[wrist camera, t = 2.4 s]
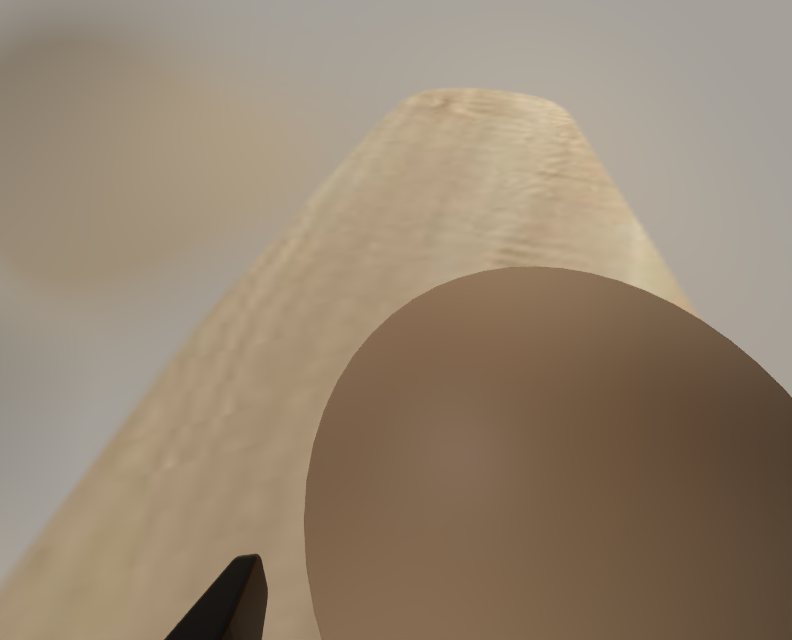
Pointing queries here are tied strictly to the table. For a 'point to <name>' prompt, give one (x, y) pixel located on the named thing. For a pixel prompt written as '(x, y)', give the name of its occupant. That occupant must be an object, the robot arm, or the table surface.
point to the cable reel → (550, 472)
